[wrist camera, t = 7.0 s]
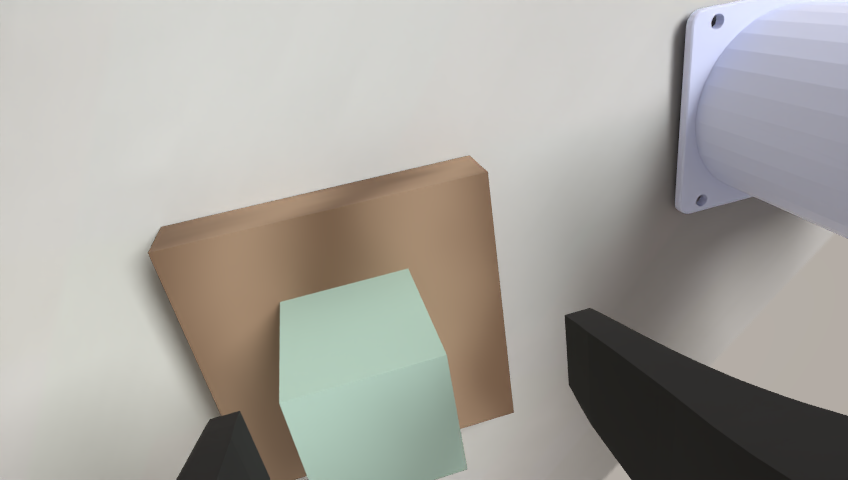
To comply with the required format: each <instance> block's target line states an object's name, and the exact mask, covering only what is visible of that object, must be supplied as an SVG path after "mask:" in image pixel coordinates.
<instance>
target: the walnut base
mask: <svg viewBox="0 0 848 480" xmlns="http://www.w3.org/2000/svg"><path fill="white" fill-rule="evenodd" d="M148 254H149V256H150V259H151V261H152V263H153V265H154V267H155V270H156V272H157V274H158V276H159V279H160V281H161V283H162V285H163V287H164V290H165V292H166V294H167V296H168V299H169V301H170V303H171V305H172V307H173V310H174V312H175V314H176V316H177V319H178V321H179V323H180V325H181V327H182V330H183V332H184V334H185V336H186V339H187V341H188V343H189V345H190V347H191V350H192V352H193V354H194V356H195V359H196V361H197V363H198V365H199V367H200V370H201V372H202V374H203V376H204V379H205V381H206V383H207V385H208V387H209V390H210V392H211V394H212V396H213V399H214V401H215V403H216V405H217V407H218V410H219V412H220V414H221V416H223V415H227V414H230V413H234V412H237V411H240V412H241V414H242V416H243V419H244V421H245V423H246V425H247V427H248V430H249V432H250V434H251V436H252V439H253V441H254V443H255V445H256V448H257V450H258V452H259V454H260V457H261V459H262V461H263V463H264V466H265V468H266V470H267V472H268V474H269V477H270V480H295V479H298V478H301V477H305V476H307V475H306V472H305V469H304V467H303V464H302V462H301V459H300V456H299V454H298V451H297V448H296V446H295V443H294V441H293V438H292V435H291V433H290V430H289V428H288V425H287V422H286V420H285V417H284V414H283V412H282V409H281V407H280V404H279V361H280V302H282V301H286V300H290V299H294V298H297V297H301V296H305V295H309V294H313V293H317V292H320V291H324V290H328V289H332V288H336V287H339V286H343V285H347V284H351V283H355V282H358V281H362V280H366V279H370V278H374V277H378V276H381V275H385V274H389V273H393V272H397V271H400V270H404V269H409V271H410V274H411V276H412V278H413V280H414V283H415V285H416V287H417V289H418V291H419V294H420V296H421V298H422V300H423V303H424V305H425V307H426V309H427V312H428V314H429V316H430V318H431V321H432V323H433V325H434V327H435V330H436V332H437V334H438V336H439V339H440V341H441V343H442V345H443V348H444V350H445V352H446V354H447V359H448V364H449V370H450V376H451V381H452V387H453V392H454V398H455V404H456V409H457V415H458V420H459V426H460V429H461V428H465V427H468V426H471V425H475V424H478V423H481V422H484V421H488V420H491V419H494V418H497V417H501V416H504V415H507V414H510V413H514V410H513V401H512V392H511V383H510V373H509V364H508V355H507V346H506V336H505V327H504V318H503V309H502V299H501V290H500V281H499V272H498V262H497V253H496V244H495V235H494V225H493V216H492V207H491V197H490V188H489V179H488V172H487V171H486V170H485V169H484V168H483V167H482V166H480V165H479V164H478V163H477V162H476V161H475V160H474V159H473V158H472V157H471V156H465V157H461V158H456V159H452V160H448V161H443V162H439V163H435V164H430V165H426V166H422V167H418V168H413V169H409V170H405V171H400V172H396V173H392V174H387V175H383V176H379V177H374V178H370V179H366V180H362V181H357V182H353V183H349V184H344V185H340V186H336V187H331V188H327V189H323V190H318V191H314V192H310V193H306V194H301V195H297V196H293V197H288V198H284V199H280V200H275V201H271V202H267V203H263V204H258V205H254V206H250V207H245V208H241V209H237V210H232V211H228V212H224V213H219V214H215V215H211V216H207V217H202V218H198V219H194V220H189V221H185V222H181V223H176V224H172V225H168V226H163V227H161V228H160V230H159V232H158V234H157V236H156V238H155V240H154V242H153V244H152V246H151V248H150V250H149V252H148Z"/></svg>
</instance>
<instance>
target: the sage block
mask: <svg viewBox="0 0 848 480" xmlns="http://www.w3.org/2000/svg"><path fill="white" fill-rule="evenodd" d="M279 404H280V407H281V409H282V412H283V414H284V417H285V420H286V422H287V425H288V428H289V430H290V433H291V435H292V438H293V441H294V443H295V446H296V448H297V451H298V454H299V456H300V459H301V462H302V464H303V467H304V469H305V472H306V475H307V477H308V480H435V479H439V478H442V477H445V476H448V475H451V474H454V473H457V472H460V471H464V470H467V465H466V459H465V454H464V448H463V443H462V437H461V432H460V426H459V420H458V415H457V409H456V404H455V398H454V392H453V387H452V381H451V376H450V370H449V364H448V359H447V354H446V352H445V350H444V348H443V345H442V343H441V341H440V339H439V336H438V334H437V332H436V330H435V327H434V325H433V323H432V321H431V318H430V316H429V314H428V312H427V309H426V307H425V305H424V303H423V300H422V298H421V296H420V294H419V291H418V289H417V287H416V285H415V283H414V280H413V278H412V276H411V274H410V271H409V269H404V270H400V271H397V272H393V273H389V274H385V275H381V276H378V277H374V278H370V279H366V280H362V281H358V282H355V283H351V284H347V285H343V286H339V287H336V288H332V289H328V290H324V291H320V292H317V293H313V294H309V295H305V296H301V297H297V298H294V299H290V300H286V301H282V302H280V361H279Z"/></svg>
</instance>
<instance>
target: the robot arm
mask: <svg viewBox="0 0 848 480" xmlns="http://www.w3.org/2000/svg"><path fill="white" fill-rule="evenodd" d="M715 15H716V23H715V25H714V26H713V27H712V26H711V21H712V18H713V17H714V16H715ZM700 195H701V197H700V199H699V200H698V201H697V198H698V197H699V196H700ZM750 197H755V198H758V199H760V200H762V201H764V202H767V203H769V204H771V205H773V206H776V207H778V208H780V209H782V210H785V211H787V212H789V213H791V214H793V215H796V216H798V217H800V218H802V219H805V220H807V221H809V222H811V223H814V224H816V225H818V226H820V227H823V228H825V229H827V230H829V231H832V232H834V233H836V234H838V235H841V236H843V237H845V238H847V239H848V0H739V1H734V2H730V3H725V4H720V5H715V6H710V7H705V8H700V9H698V10H695V11H694V12H693V13H692V14H691V15H690V17H689V18H688V20H687V25H686V37H685V52H684V68H683V84H682V99H681V115H680V131H679V146H678V162H677V177H676V193H675V207H676V208H677V210H679V211H680V212H682V213H685V214H690V213H694V212H697V211H701V210H705V209H709V208H713V207H716V206H720V205H724V204H728V203H732V202H735V201H739V200H743V199H747V198H750ZM696 201H697V202H696ZM565 327H566V344H567V361H568V378H569V386H570V388H571V389H572V391H573V393H574V395H575V397H576V399H577V400H578V402H579V404H580V406H581V408H582V409H583V411H584V413H585V415H586V416H587V418H588V420H589V422H590V423H591V425H592V426H593V428H594V429H595V430H596V432H597V433H598V435H599V436H600V437H601V439H602V440H603V442H604V443H605V444H606V446H607V447H608V448H609V450H610V451H611V452H612V454H613V455H614V457H615V458H616V459H617V461H618V462H619V463H620V465H621V466H622V467H623V469H624V470H625V471H626V473H627V474H628V475H629V477H630V478H631V480H848V416H847V415H843V414H840V413H836V412H833V411H830V410H826V409H823V408H819V407H816V406H812V405H809V404H806V403H803V402H800V401H797V400H794V399H791V398H788V397H784V396H782V395H779V394H777V393H774V392H771V391H768V390H766V389H763V388H760V387H757V386H754V385H752V384H749V383H746V382H744V381H741V380H739V379H736V378H734V377H731V376H729V375H726V374H724V373H722V372H720V371H717V370H715V369H713V368H710V367H708V366H706V365H704V364H701V363H699V362H697V361H695V360H692V359H690V358H688V357H686V356H684V355H682V354H680V353H678V352H675V351H673V350H671V349H669V348H667V347H665V346H663V345H661V344H659V343H657V342H655V341H653V340H651V339H649V338H647V337H645V336H643V335H642V334H640V333H638V332H636V331H634V330H632V329H630V328H628V327H626V326H624V325H622V324H620V323H619V322H617V321H615V320H613V319H611V318H609V317H607V316H605V315H603V314H601V313H599V312H597V311H595V310H593V309H591V308H588V309H585V310H581V311H578V312H575V313H571V314H568V315H565ZM176 480H270V477H269V474H268V472H267V470H266V468H265V466H264V463H263V461H262V459H261V457H260V454H259V452H258V450H257V448H256V445H255V443H254V441H253V439H252V436H251V434H250V432H249V430H248V427H247V425H246V423H245V421H244V419H243V416H242V414H241V412H240V411H237V412H234V413H230V414H227V415H223V416H220V417H217V418H213V419H210V420H209V422H208V424H207V425H206V427H205V429H204V430H203V432H202V434H201V436H200V438H199V439H198V441H197V443H196V445H195V447H194V449H193V450H192V452H191V454H190V456H189V458H188V459H187V461H186V463H185V465H184V467H183V468H182V470H181V472H180V474H179V476H178V477H177V479H176Z"/></svg>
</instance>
